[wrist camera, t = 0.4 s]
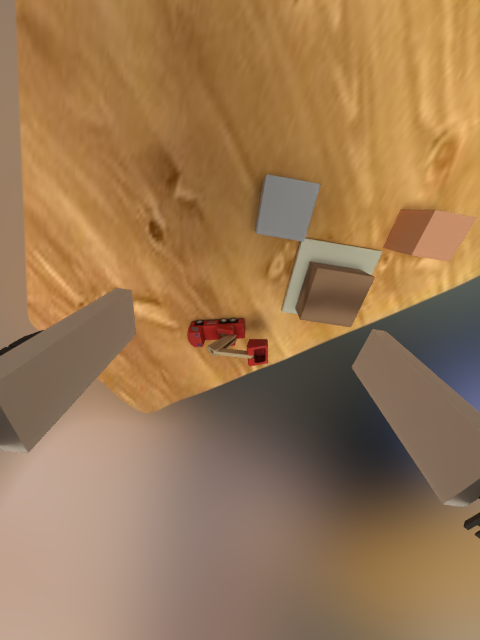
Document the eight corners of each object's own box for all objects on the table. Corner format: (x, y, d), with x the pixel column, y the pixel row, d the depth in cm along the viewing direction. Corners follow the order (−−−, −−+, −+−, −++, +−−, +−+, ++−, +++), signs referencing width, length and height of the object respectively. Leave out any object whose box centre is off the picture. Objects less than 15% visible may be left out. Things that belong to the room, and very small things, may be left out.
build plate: (301, 237, 30) (302, 238, 29) (378, 250, 31) (382, 251, 30) (281, 309, 36) (282, 311, 35) (347, 319, 36) (349, 322, 36)
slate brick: (263, 181, 27) (266, 174, 22) (306, 188, 27) (320, 183, 22) (254, 229, 30) (256, 233, 25) (294, 236, 30) (304, 241, 25)
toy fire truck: (189, 320, 38) (172, 352, 29) (264, 315, 37) (269, 347, 28) (193, 335, 39) (178, 369, 31) (264, 331, 38) (269, 366, 30)
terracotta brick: (400, 210, 28) (435, 210, 23) (434, 216, 28) (477, 217, 23) (383, 247, 31) (411, 255, 25) (414, 252, 31) (449, 261, 26)
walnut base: (309, 261, 31) (317, 267, 27) (360, 269, 31) (374, 277, 28) (295, 308, 35) (300, 319, 31) (340, 315, 35) (350, 327, 32)
